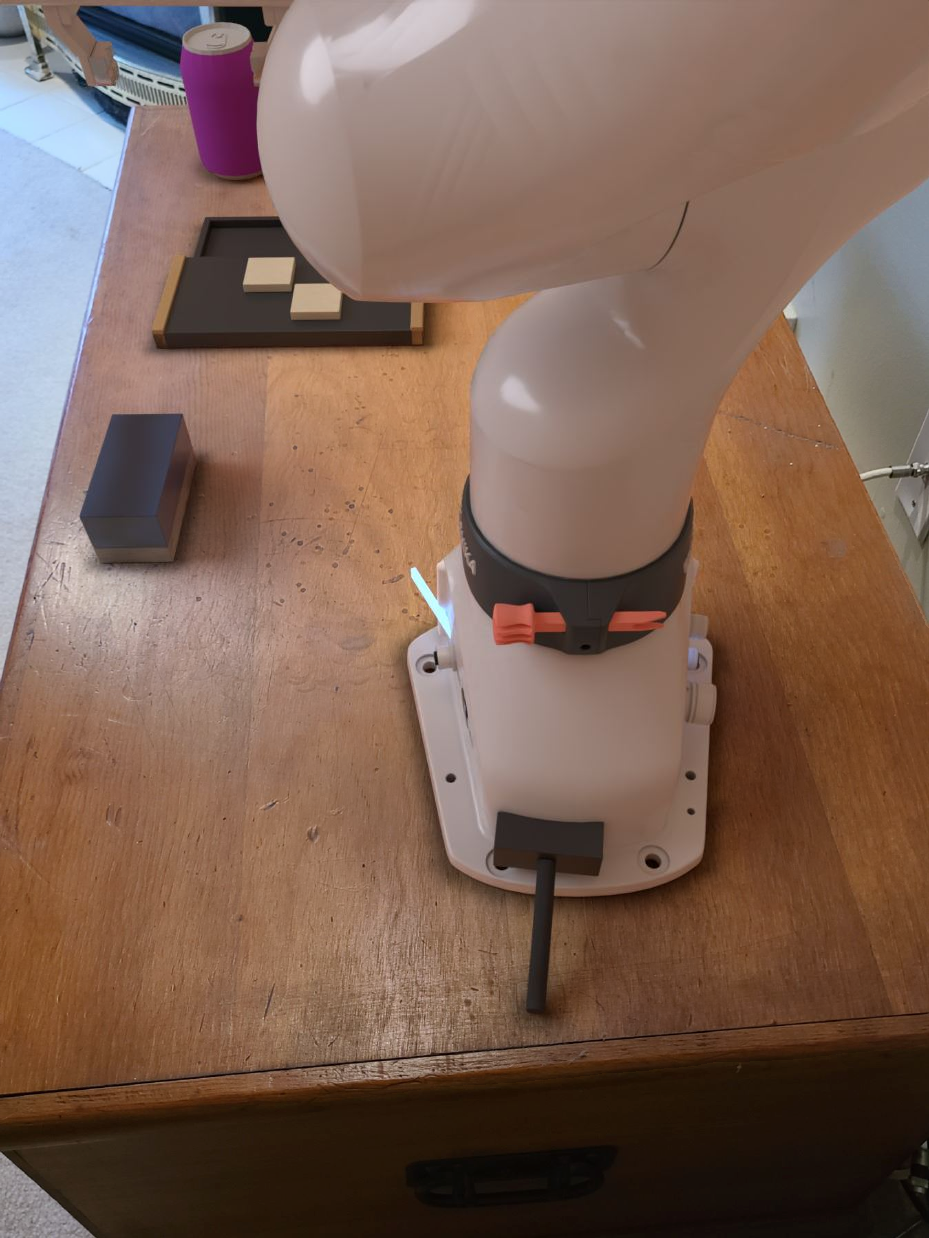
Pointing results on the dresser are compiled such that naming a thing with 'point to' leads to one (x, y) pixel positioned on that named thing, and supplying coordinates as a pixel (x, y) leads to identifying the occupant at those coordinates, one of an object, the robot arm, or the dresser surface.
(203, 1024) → the dresser surface
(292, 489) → the dresser surface
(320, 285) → the chalk tile
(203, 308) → the slate board
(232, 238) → the tray
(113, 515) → the eraser
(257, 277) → the chalk tile
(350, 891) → the dresser surface
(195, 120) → the beverage can
